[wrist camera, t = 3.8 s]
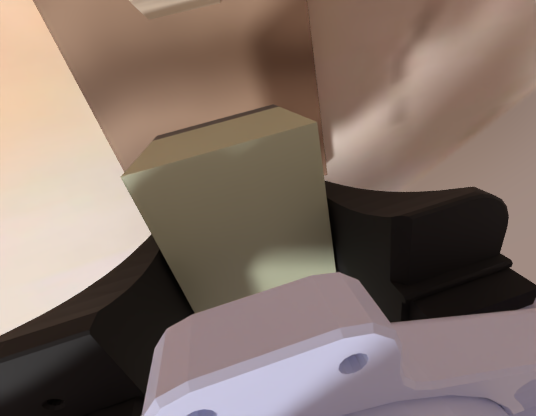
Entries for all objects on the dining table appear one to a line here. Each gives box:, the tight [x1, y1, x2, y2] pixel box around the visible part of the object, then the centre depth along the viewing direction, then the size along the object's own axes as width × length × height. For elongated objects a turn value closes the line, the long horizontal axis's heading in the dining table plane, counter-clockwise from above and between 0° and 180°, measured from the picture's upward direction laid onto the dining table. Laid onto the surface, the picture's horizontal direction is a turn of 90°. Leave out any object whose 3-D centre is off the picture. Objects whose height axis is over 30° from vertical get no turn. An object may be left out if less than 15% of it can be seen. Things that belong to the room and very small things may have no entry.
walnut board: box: [33, 0, 327, 175], centre depth 16 cm, size 18×14×2 cm
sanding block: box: [121, 104, 336, 313], centre depth 10 cm, size 8×5×5 cm, turn 13°
